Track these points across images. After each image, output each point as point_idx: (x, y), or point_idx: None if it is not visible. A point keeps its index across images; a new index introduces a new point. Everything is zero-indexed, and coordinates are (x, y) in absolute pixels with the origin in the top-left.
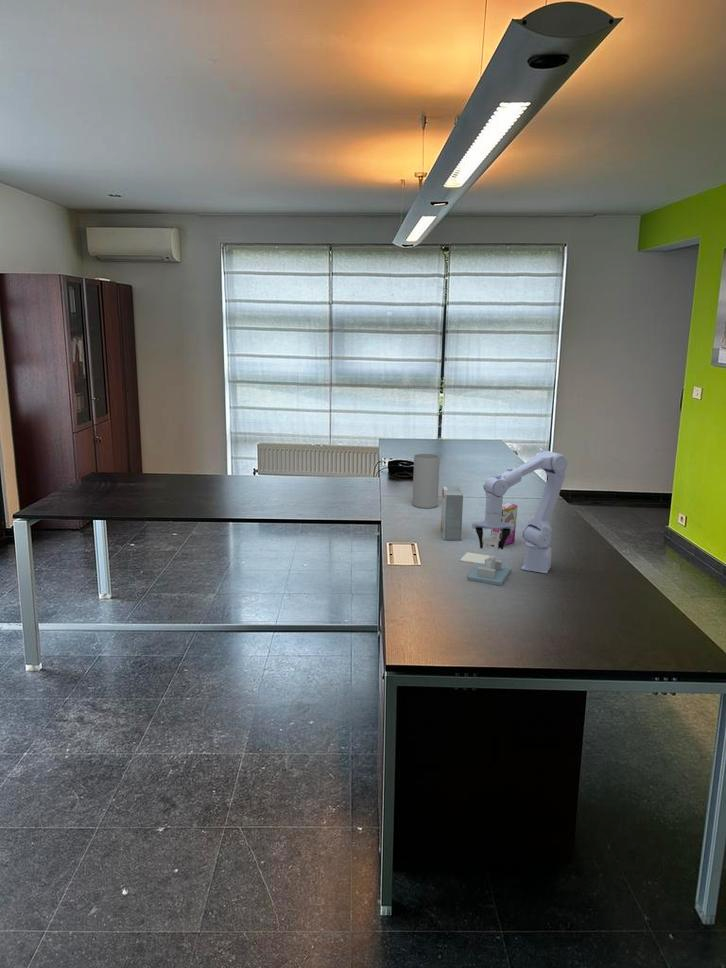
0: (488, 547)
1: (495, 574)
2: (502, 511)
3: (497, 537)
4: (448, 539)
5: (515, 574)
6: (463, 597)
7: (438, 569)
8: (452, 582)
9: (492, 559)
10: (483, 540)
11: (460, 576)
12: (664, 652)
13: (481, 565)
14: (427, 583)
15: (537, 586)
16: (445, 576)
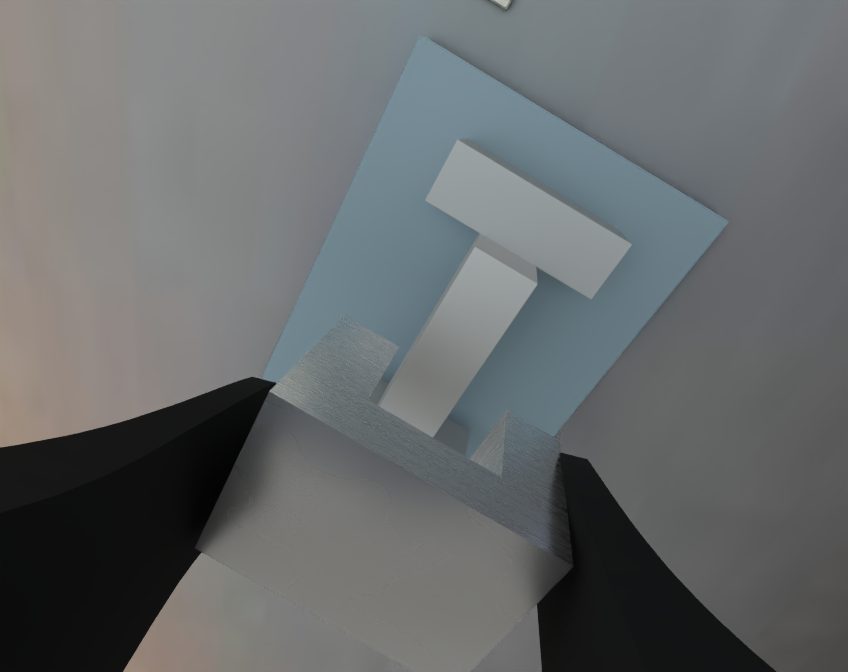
0: (390, 361)
1: (466, 445)
2: None
3: None
4: None
5: (717, 306)
6: (221, 605)
7: (56, 136)
8: None
9: (455, 387)
10: (210, 553)
11: (224, 308)
12: None
13: (424, 126)
14: (19, 404)
15: (766, 559)
16: (118, 298)
